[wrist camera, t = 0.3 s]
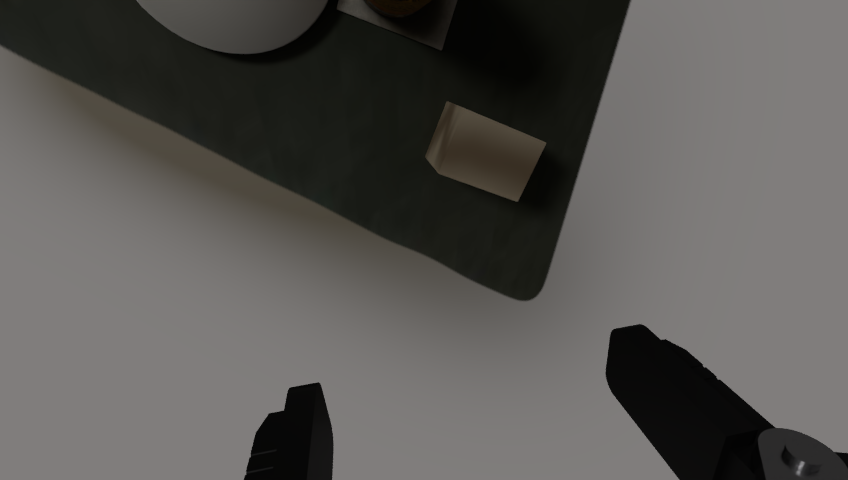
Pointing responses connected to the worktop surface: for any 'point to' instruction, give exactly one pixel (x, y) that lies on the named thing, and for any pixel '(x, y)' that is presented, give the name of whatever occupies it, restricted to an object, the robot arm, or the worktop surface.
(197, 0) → the dish
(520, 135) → the block
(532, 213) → the worktop surface
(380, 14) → the condiment
